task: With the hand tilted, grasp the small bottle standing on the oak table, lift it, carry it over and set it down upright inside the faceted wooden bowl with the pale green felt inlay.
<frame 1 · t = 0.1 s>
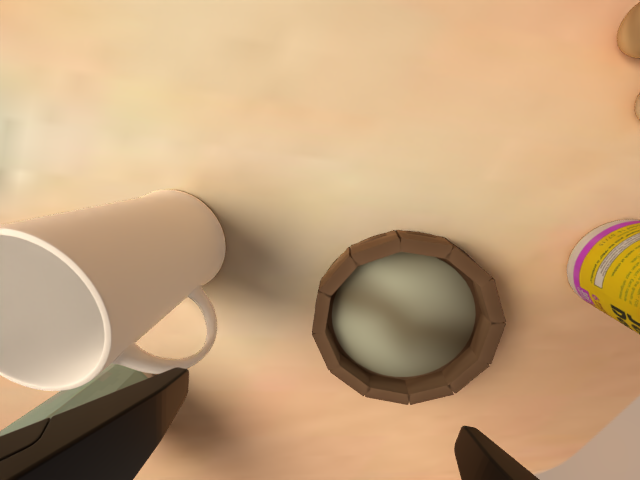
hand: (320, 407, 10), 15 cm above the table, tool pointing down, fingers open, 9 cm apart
mug: (191, 254, 25), on the table
faceted wooden bowl: (400, 313, 24), on the table
supplement bottle: (608, 260, 22), on the table
disposable coffee cup: (131, 385, 29), on the table
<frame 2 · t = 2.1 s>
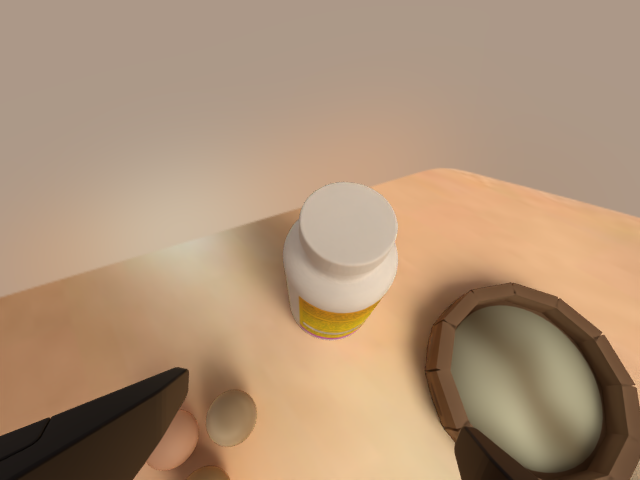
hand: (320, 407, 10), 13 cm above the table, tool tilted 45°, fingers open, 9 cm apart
faceted wooden bowl: (516, 379, 23), on the table
pinkish tan ball: (171, 438, 19), point 2 cm above the table
bead maple: (231, 417, 19), point 2 cm above the table
supplement bottle: (328, 301, 25), on the table
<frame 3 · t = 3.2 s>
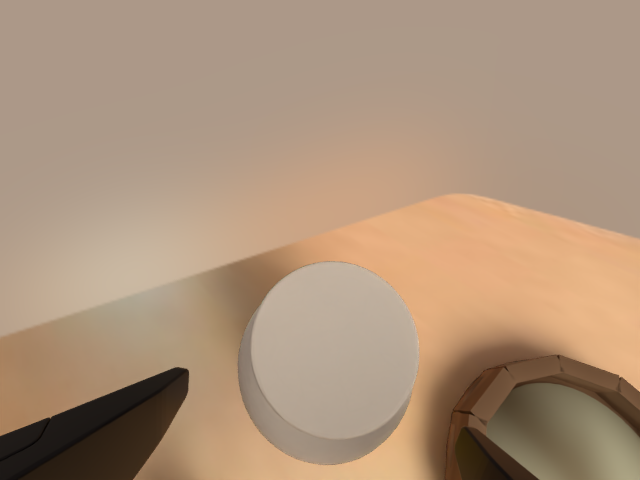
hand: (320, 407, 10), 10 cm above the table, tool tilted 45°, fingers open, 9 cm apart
supplement bottle: (317, 375, 19), on the table
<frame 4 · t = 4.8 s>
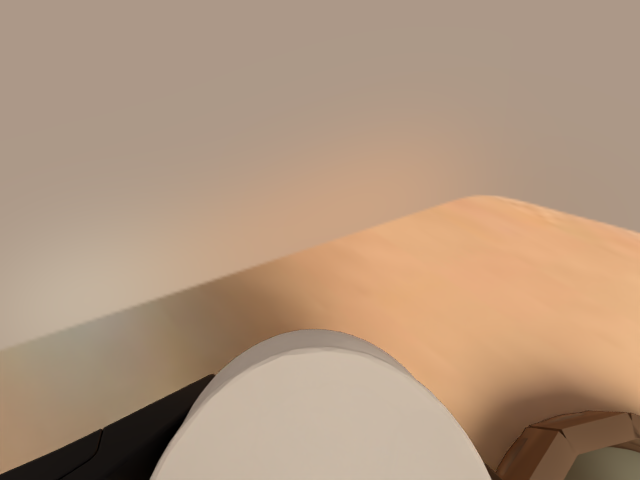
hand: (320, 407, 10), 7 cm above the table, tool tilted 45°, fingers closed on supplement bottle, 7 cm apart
supplement bottle: (309, 435, 15), on the table, touching gripper
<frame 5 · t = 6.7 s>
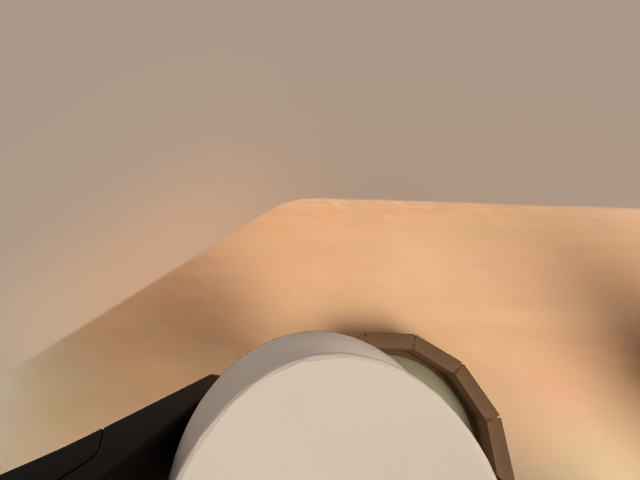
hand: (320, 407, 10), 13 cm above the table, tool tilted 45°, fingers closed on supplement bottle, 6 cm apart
faceted wooden bowl: (390, 442, 20), on the table
supplement bottle: (301, 431, 15), point 6 cm above the table, touching gripper
when the fingers open (8 cm above the table, at t = 8.8 s): supplement bottle stays where it is, resting on faceted wooden bowl.
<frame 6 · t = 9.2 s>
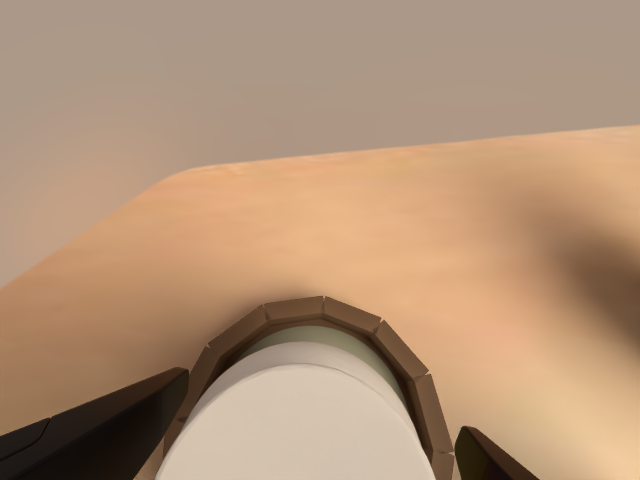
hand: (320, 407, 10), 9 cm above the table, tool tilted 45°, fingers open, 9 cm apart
faceted wooden bowl: (309, 431, 16), on the table
supplement bottle: (302, 436, 16), point 1 cm above the table, touching faceted wooden bowl
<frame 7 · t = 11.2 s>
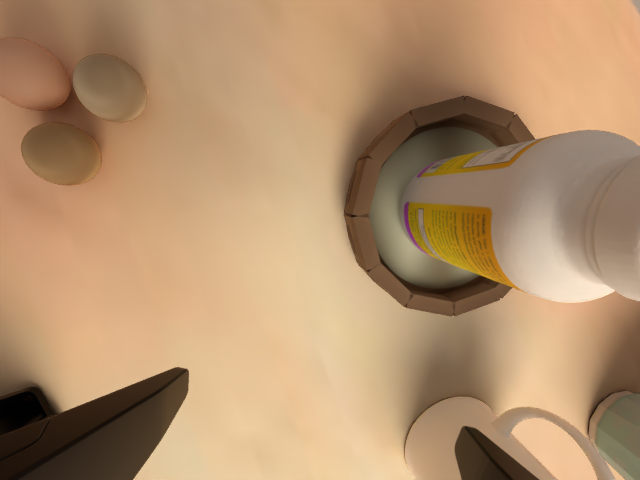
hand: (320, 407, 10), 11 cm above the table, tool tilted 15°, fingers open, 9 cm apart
mug: (459, 423, 25), on the table
faceted wooden bowl: (440, 210, 21), on the table
bead honey: (64, 154, 16), point 2 cm above the table
pinkish tan ball: (29, 75, 15), point 2 cm above the table
bead maple: (112, 89, 16), point 2 cm above the table
supplement bottle: (440, 208, 21), point 1 cm above the table, touching faceted wooden bowl
disposable coffee cup: (616, 417, 27), on the table
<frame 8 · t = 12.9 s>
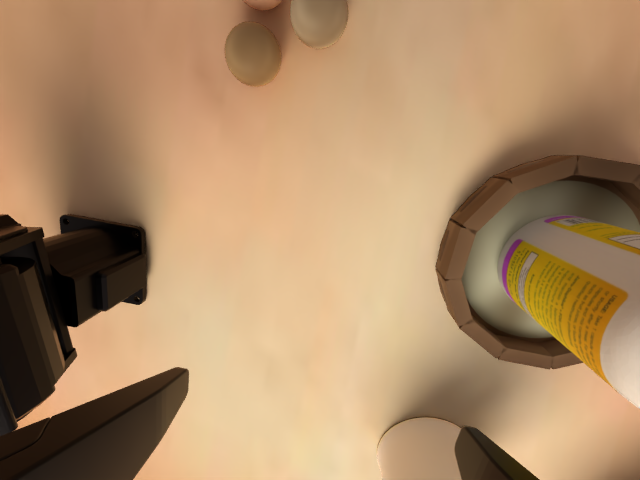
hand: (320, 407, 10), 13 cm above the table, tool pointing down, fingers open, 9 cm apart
mug: (440, 444, 26), on the table
faceted wooden bowl: (541, 261, 20), on the table
bead honey: (253, 55, 17), point 2 cm above the table
bead maple: (319, 14, 16), point 2 cm above the table
supplement bottle: (544, 260, 20), point 1 cm above the table, touching faceted wooden bowl
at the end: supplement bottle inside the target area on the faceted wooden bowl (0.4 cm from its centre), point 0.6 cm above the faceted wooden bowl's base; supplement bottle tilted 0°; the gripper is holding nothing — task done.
